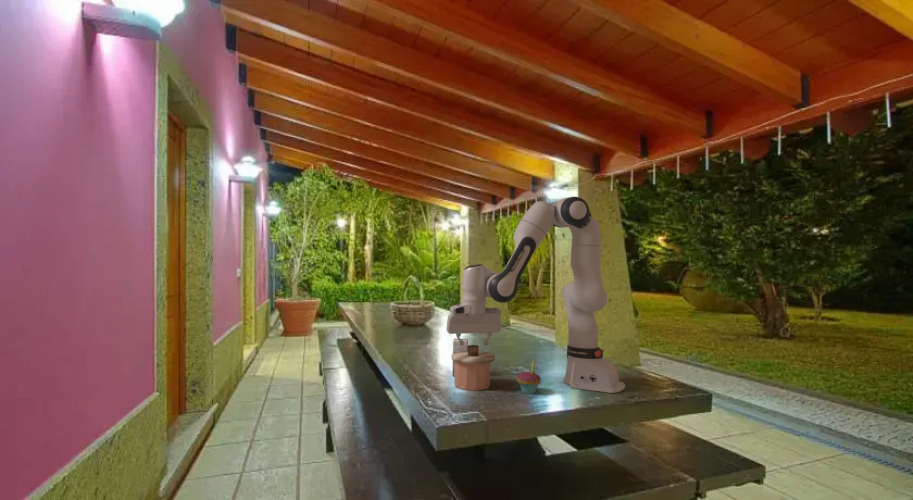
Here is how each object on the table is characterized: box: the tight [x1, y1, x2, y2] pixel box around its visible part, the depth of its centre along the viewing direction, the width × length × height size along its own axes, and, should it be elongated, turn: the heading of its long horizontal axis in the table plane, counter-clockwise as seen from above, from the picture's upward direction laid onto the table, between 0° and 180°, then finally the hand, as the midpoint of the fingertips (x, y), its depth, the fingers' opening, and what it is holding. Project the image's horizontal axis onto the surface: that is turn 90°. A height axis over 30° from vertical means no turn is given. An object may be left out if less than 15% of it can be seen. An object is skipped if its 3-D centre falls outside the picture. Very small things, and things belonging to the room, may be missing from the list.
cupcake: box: [516, 358, 542, 395], centre depth 165 cm, size 9×8×12 cm
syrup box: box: [451, 337, 469, 378], centre depth 186 cm, size 6×6×14 cm
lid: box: [451, 344, 496, 364], centre depth 171 cm, size 16×16×5 cm
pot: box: [454, 361, 491, 392], centre depth 171 cm, size 13×13×10 cm
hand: (473, 345), depth 172 cm, fingers open, 8 cm apart
